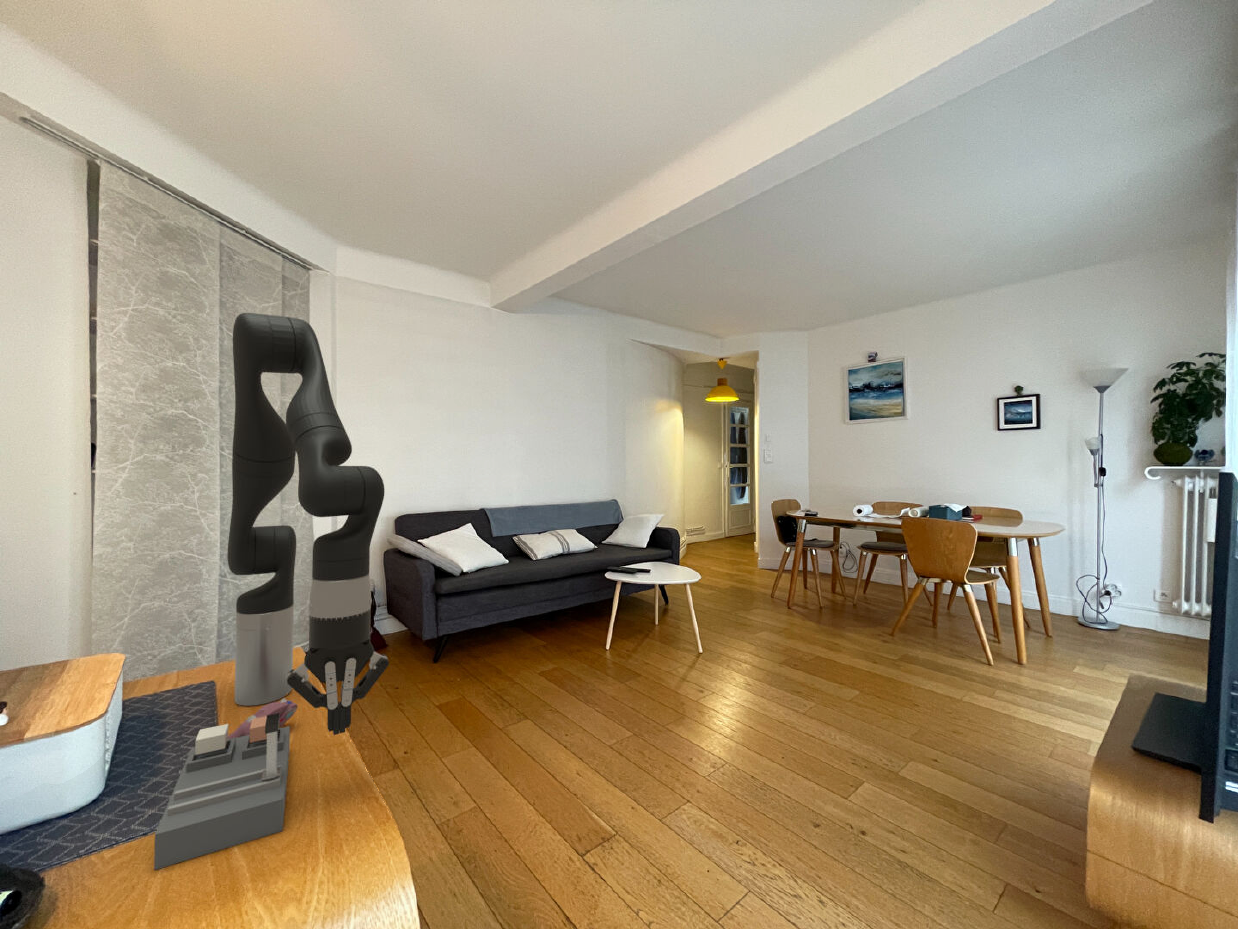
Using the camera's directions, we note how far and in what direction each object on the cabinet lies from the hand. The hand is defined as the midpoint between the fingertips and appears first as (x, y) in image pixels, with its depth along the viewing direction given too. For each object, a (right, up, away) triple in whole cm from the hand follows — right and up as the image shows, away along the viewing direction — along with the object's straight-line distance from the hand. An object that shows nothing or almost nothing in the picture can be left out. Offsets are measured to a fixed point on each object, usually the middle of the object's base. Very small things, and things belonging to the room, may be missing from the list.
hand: (338, 731), depth 70 cm
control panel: (-13, -8, -2) cm, 16 cm away
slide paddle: (-7, -4, -4) cm, 9 cm away
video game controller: (-20, -9, +13) cm, 25 cm away
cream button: (-18, -2, +1) cm, 18 cm away
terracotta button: (-13, -2, +4) cm, 14 cm away
